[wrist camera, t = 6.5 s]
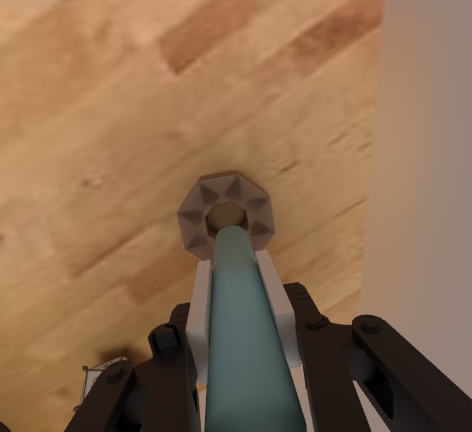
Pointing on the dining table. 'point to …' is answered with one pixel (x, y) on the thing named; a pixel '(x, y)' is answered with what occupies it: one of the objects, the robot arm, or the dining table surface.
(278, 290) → the robot arm
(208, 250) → the bead
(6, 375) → the dining table surface
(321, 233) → the dining table surface
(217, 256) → the teal rounded stick
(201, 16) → the dining table surface
